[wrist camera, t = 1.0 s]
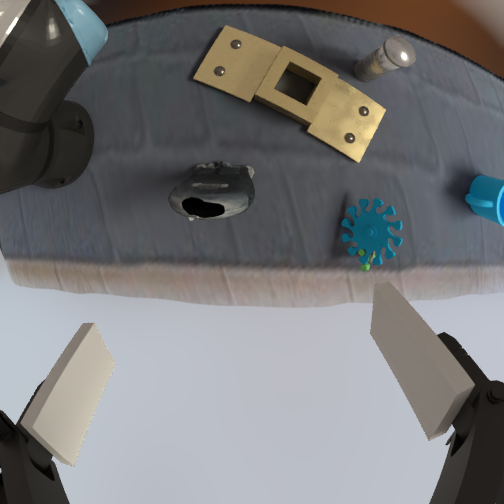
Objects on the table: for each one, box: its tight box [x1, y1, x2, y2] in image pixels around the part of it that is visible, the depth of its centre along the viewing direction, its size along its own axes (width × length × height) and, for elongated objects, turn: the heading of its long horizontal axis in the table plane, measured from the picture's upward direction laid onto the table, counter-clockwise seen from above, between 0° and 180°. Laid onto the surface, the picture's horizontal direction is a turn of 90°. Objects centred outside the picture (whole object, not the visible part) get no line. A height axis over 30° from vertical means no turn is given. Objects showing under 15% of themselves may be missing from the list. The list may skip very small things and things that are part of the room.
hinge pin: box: [354, 36, 416, 82], centre depth 28 cm, size 4×4×12 cm
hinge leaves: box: [193, 26, 386, 163], centre depth 33 cm, size 27×10×4 cm, turn 63°
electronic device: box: [168, 161, 255, 221], centre depth 33 cm, size 9×6×15 cm, turn 80°
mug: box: [465, 175, 504, 226], centre depth 37 cm, size 12×8×8 cm
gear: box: [341, 198, 403, 271], centre depth 40 cm, size 11×6×10 cm
